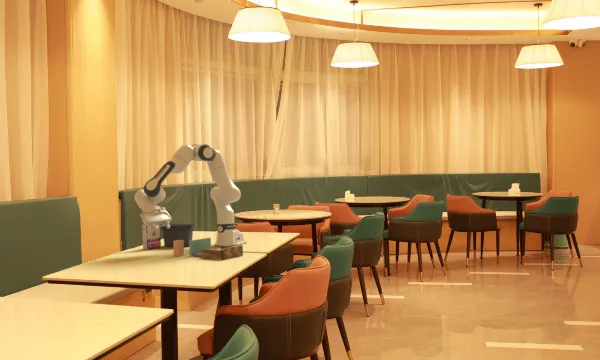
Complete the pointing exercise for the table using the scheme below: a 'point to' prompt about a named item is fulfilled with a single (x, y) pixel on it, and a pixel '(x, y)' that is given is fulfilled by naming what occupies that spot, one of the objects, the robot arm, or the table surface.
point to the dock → (223, 252)
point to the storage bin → (177, 233)
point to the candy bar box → (151, 237)
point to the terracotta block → (178, 247)
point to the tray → (199, 246)
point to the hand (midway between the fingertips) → (163, 228)
